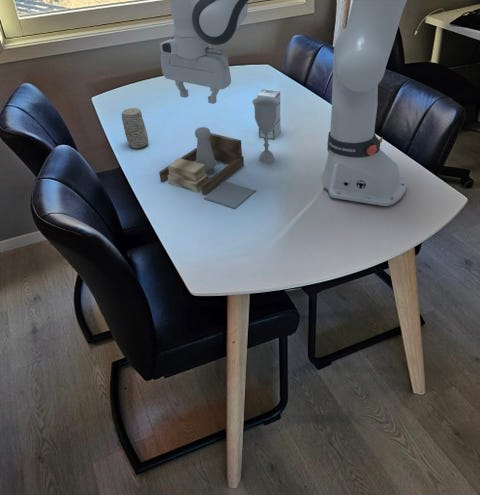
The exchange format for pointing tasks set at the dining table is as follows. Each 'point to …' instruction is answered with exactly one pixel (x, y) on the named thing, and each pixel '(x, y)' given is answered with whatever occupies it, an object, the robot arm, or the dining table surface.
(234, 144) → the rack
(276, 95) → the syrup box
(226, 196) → the slate mat
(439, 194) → the dining table surface
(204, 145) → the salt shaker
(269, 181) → the dining table surface
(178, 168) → the offcut upper
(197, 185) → the offcut lower
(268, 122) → the chalice
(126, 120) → the carving
